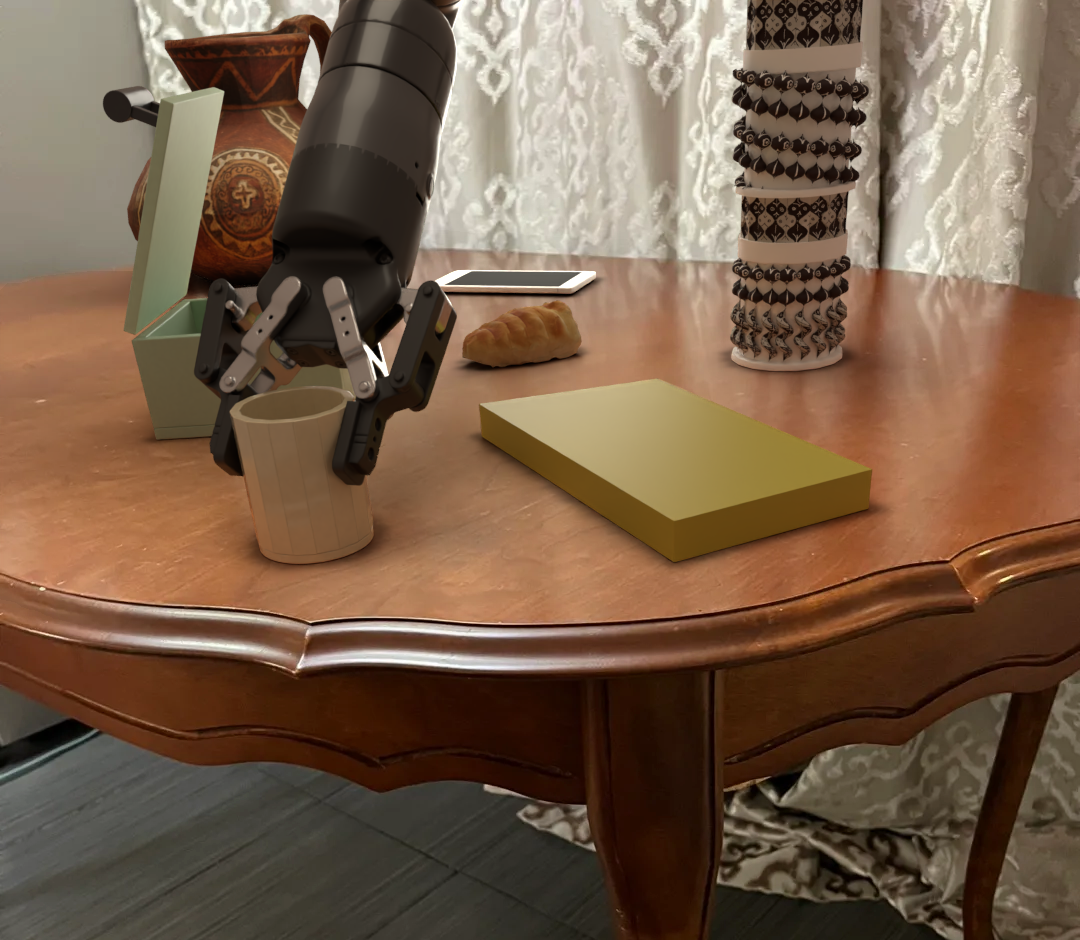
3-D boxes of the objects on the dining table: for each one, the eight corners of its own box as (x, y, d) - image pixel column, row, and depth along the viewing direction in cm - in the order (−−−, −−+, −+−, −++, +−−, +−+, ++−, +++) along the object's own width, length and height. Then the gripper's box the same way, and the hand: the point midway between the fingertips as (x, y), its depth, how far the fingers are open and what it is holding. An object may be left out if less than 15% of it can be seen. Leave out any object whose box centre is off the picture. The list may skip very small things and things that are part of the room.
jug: (315, 300, 115) (268, 13, 101) (83, 296, 125) (13, 35, 112) (439, 245, 138) (414, 6, 125) (235, 245, 148) (192, 24, 135)
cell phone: (456, 276, 120) (455, 269, 120) (597, 277, 115) (597, 271, 114) (424, 292, 114) (423, 285, 114) (571, 294, 109) (571, 287, 108)
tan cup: (248, 567, 58) (216, 426, 54) (272, 521, 63) (245, 389, 59) (366, 560, 58) (343, 418, 54) (380, 515, 63) (361, 382, 59)
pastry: (486, 376, 86) (481, 325, 84) (448, 360, 91) (443, 311, 89) (589, 353, 90) (587, 304, 88) (547, 339, 95) (544, 292, 93)
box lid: (224, 91, 77) (149, 61, 76) (173, 103, 67) (85, 68, 66) (186, 295, 85) (117, 270, 84) (135, 335, 74) (55, 307, 73)
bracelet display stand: (703, 352, 88) (708, -28, 75) (803, 334, 91) (826, -36, 77) (765, 379, 81) (782, -37, 67) (872, 359, 83) (910, -45, 70)
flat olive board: (868, 508, 59) (640, 402, 78) (872, 469, 58) (639, 370, 77) (674, 562, 55) (482, 436, 74) (674, 521, 54) (478, 403, 73)
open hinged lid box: (372, 377, 88) (359, 287, 84) (348, 428, 77) (333, 326, 74) (202, 388, 88) (182, 299, 85) (156, 439, 78) (130, 340, 74)
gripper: (208, 142, 59) (125, 433, 56) (457, 132, 54) (380, 449, 51) (280, 232, 66) (209, 495, 63) (506, 230, 61) (441, 514, 58)
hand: (286, 473), depth 57 cm, fingers open, 6 cm apart
